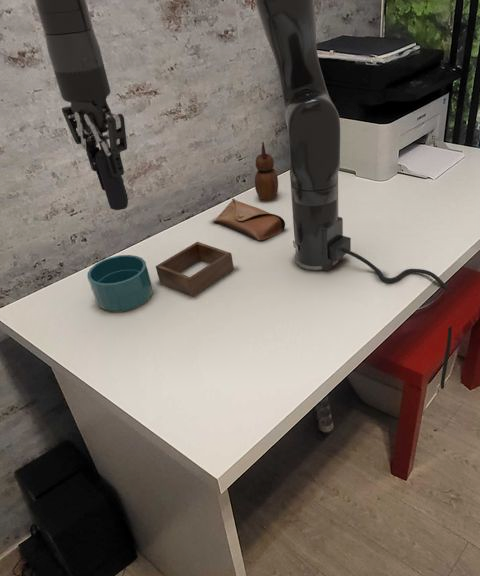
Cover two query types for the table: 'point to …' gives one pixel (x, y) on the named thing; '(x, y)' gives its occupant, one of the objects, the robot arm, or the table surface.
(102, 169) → the two-way radio
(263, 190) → the wooden figurine
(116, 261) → the teal round bowl
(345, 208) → the table surface
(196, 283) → the wooden frame
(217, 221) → the sunglasses case
